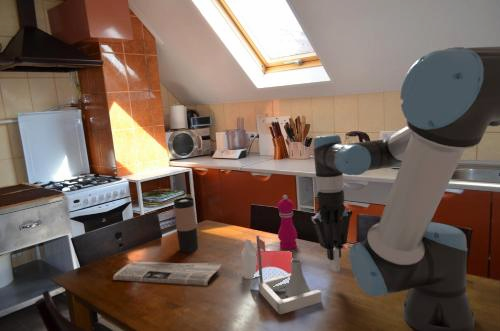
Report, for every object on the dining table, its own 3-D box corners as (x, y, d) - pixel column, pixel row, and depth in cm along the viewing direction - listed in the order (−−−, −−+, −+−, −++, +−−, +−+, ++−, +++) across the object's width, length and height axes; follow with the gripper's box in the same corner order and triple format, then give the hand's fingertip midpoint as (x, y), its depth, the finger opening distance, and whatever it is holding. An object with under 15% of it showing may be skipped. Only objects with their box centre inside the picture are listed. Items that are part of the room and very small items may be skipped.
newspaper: (113, 281, 125) (112, 271, 124) (134, 265, 137) (133, 256, 136) (211, 287, 115) (210, 276, 115) (225, 269, 127) (224, 259, 126)
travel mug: (177, 248, 149) (171, 199, 146) (195, 243, 152) (190, 196, 149) (182, 254, 142) (176, 203, 139) (201, 249, 145) (196, 199, 142)
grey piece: (253, 243, 115) (236, 242, 116) (256, 280, 116) (239, 278, 118) (259, 236, 120) (243, 235, 122) (262, 271, 122) (246, 270, 124)
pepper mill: (276, 249, 139) (273, 197, 136) (280, 242, 146) (277, 192, 143) (296, 250, 137) (292, 197, 134) (299, 243, 144) (296, 192, 141)
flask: (308, 287, 110) (307, 254, 108) (313, 300, 102) (311, 265, 101) (284, 289, 110) (281, 256, 108) (286, 302, 102) (284, 267, 101)
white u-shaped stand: (321, 302, 101) (318, 242, 98) (279, 314, 96) (275, 252, 94) (296, 281, 114) (293, 227, 111) (258, 291, 109) (254, 235, 107)
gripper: (341, 184, 112) (345, 260, 115) (303, 191, 107) (308, 270, 110) (357, 188, 105) (361, 268, 108) (317, 195, 100) (323, 279, 103)
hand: (335, 269), depth 109 cm, fingers closed
